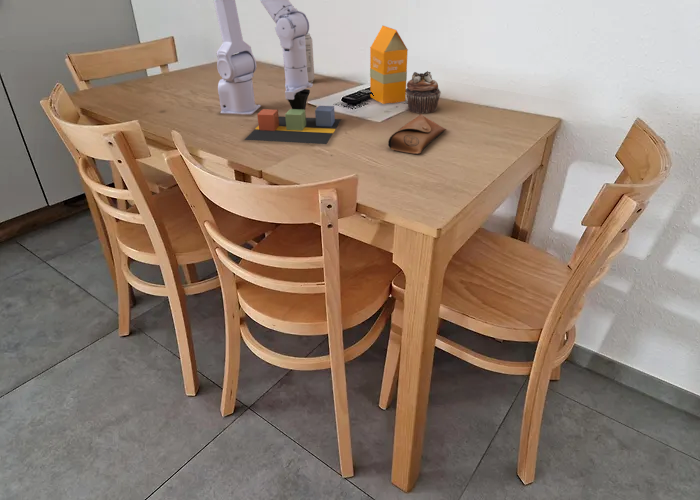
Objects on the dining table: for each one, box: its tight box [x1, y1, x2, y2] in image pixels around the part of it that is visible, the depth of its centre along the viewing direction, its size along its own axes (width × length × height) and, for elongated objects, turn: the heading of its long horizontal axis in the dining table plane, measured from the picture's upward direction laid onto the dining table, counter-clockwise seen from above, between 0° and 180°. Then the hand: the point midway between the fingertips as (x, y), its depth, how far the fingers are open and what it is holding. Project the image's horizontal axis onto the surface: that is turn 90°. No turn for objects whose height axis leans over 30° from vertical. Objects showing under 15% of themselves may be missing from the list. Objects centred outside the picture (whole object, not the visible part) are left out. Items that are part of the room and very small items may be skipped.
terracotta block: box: [256, 108, 280, 131], centre depth 128 cm, size 4×4×4 cm
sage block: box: [284, 108, 307, 131], centre depth 127 cm, size 4×4×4 cm
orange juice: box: [369, 25, 409, 105], centre depth 143 cm, size 8×9×20 cm
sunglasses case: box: [387, 113, 447, 155], centre depth 120 cm, size 18×7×7 cm
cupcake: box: [406, 70, 442, 114], centre depth 137 cm, size 10×10×10 cm
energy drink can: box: [305, 32, 315, 83], centre depth 162 cm, size 6×6×15 cm
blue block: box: [314, 105, 336, 127], centre depth 129 cm, size 4×4×4 cm
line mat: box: [244, 116, 342, 145], centre depth 128 cm, size 21×18×1 cm
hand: (299, 118), depth 131 cm, fingers closed
